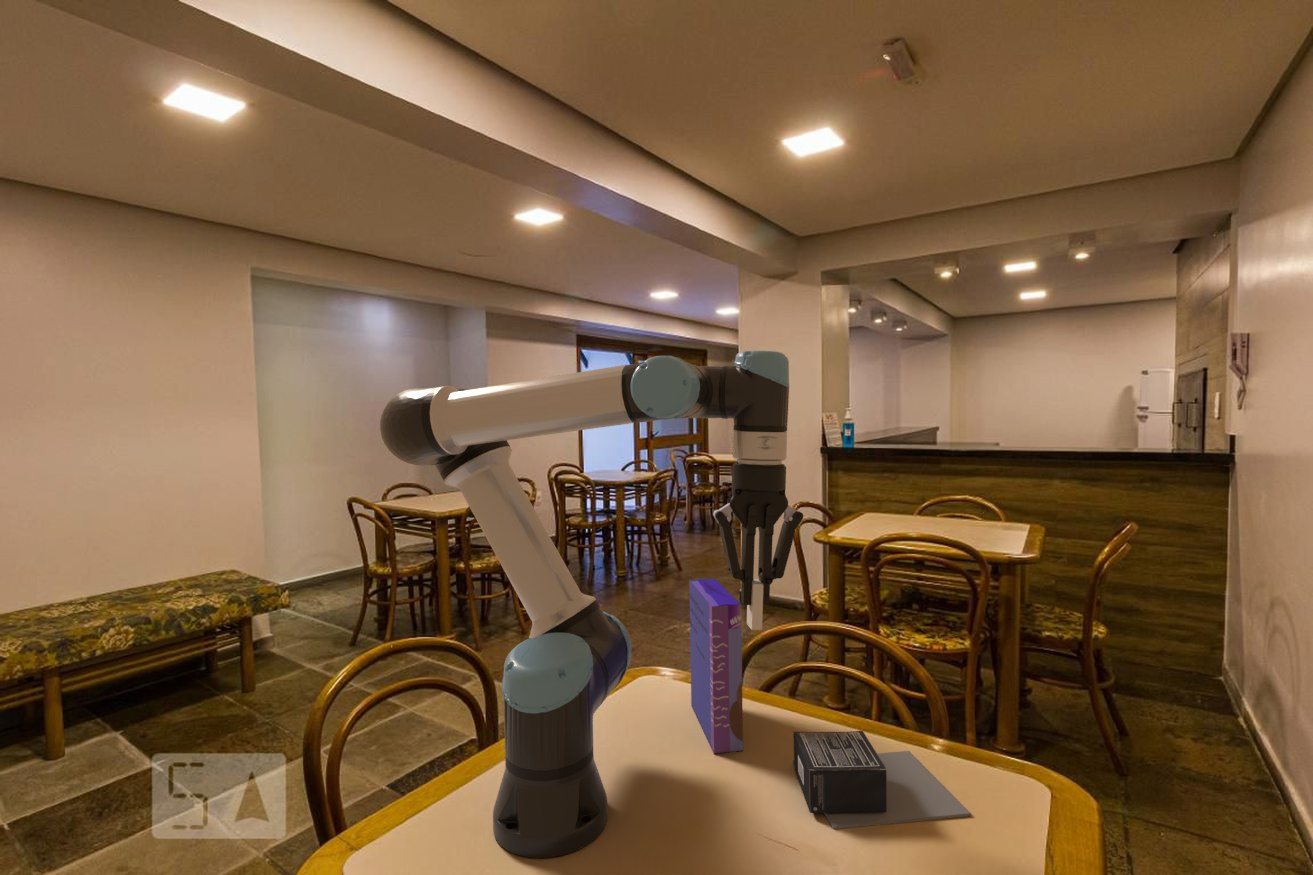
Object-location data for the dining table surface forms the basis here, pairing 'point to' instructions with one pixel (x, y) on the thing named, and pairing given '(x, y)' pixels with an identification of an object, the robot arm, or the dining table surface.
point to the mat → (905, 796)
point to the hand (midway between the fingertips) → (754, 626)
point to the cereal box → (716, 664)
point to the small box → (839, 772)
